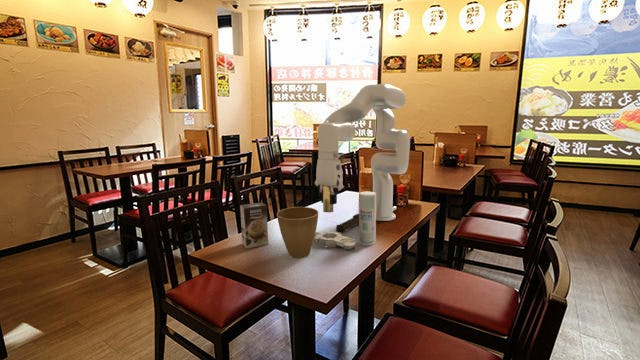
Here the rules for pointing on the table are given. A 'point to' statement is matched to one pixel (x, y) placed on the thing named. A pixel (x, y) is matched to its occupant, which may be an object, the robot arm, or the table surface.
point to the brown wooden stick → (348, 224)
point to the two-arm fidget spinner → (334, 240)
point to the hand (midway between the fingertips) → (328, 202)
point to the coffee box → (254, 224)
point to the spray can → (367, 217)
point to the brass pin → (327, 199)
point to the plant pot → (298, 229)
